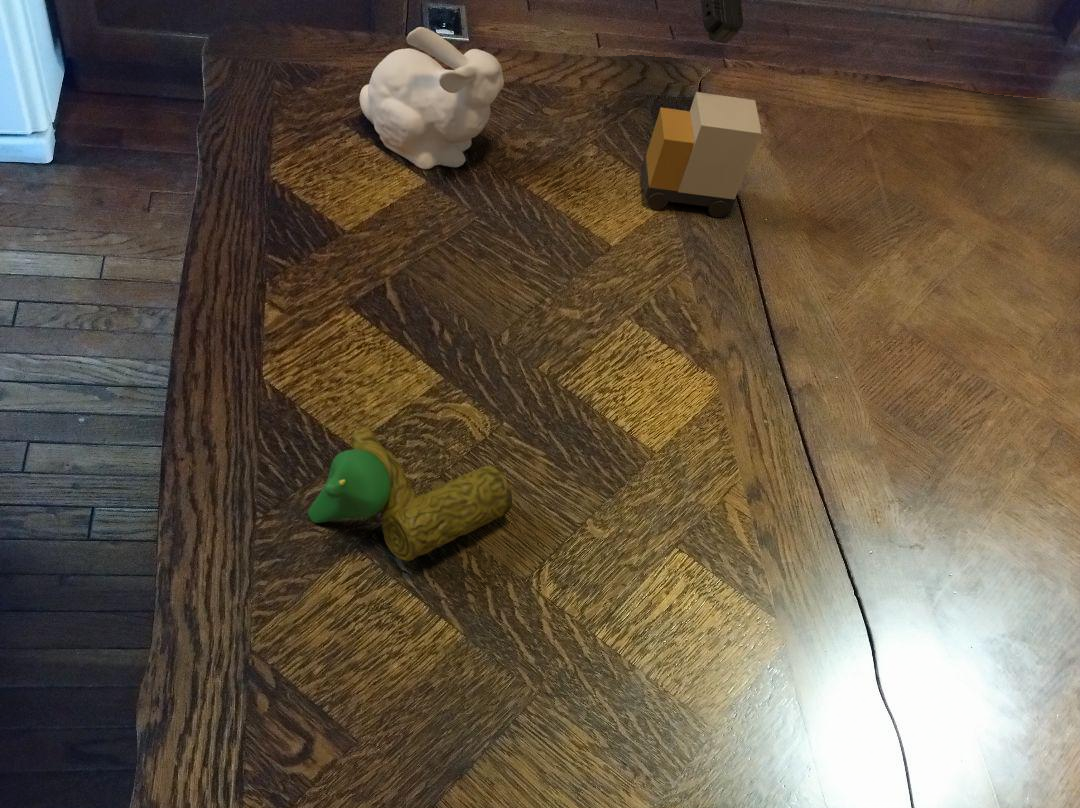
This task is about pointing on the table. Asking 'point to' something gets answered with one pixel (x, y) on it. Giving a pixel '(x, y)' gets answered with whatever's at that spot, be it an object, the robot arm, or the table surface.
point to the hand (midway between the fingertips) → (725, 36)
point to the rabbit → (431, 99)
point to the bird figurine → (407, 499)
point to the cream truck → (701, 153)
